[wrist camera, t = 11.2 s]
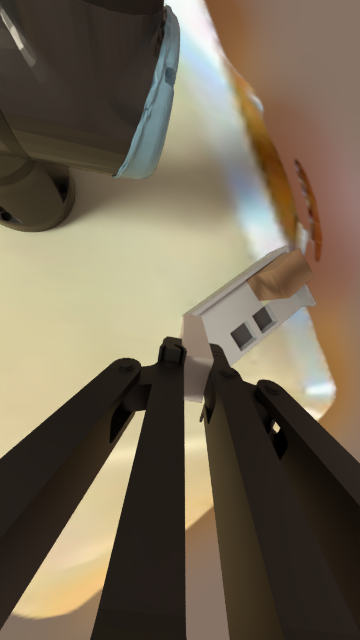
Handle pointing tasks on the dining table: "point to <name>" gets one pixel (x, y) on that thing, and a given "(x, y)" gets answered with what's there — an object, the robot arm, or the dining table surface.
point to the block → (281, 277)
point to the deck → (246, 312)
